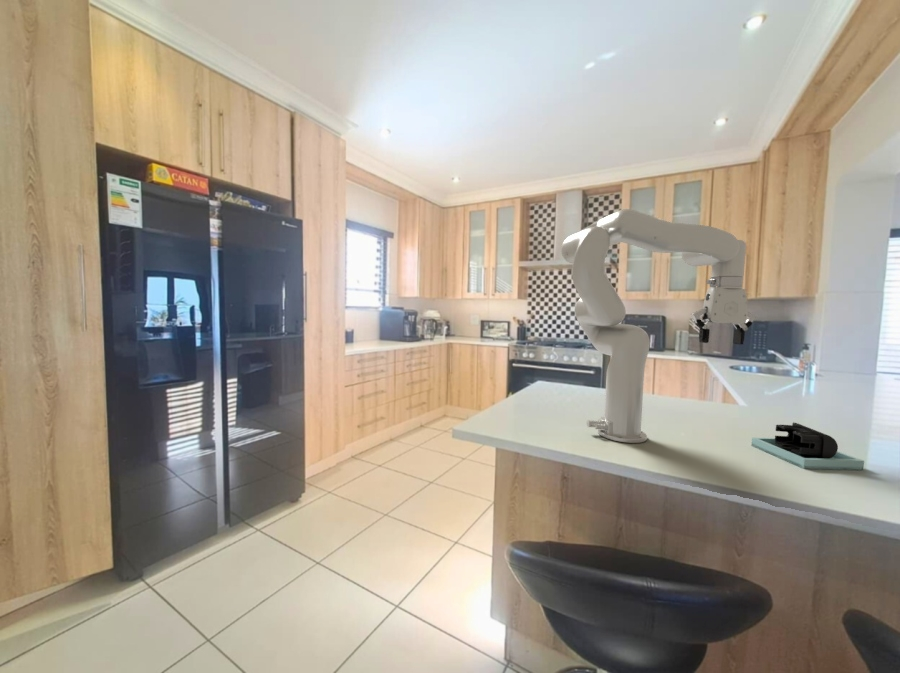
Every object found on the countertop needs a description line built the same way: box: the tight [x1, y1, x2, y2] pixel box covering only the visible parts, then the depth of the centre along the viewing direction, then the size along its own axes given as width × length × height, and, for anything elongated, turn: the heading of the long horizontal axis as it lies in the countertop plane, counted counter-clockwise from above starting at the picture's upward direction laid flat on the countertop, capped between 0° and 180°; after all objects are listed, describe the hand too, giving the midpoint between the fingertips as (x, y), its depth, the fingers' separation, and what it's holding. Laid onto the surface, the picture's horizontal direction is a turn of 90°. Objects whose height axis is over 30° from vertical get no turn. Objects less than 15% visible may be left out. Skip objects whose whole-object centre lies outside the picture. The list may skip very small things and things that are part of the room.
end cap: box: [774, 422, 839, 459], centre depth 90 cm, size 10×7×7 cm
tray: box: [751, 437, 865, 471], centre depth 91 cm, size 14×15×2 cm
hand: (720, 343), depth 106 cm, fingers open, 9 cm apart
